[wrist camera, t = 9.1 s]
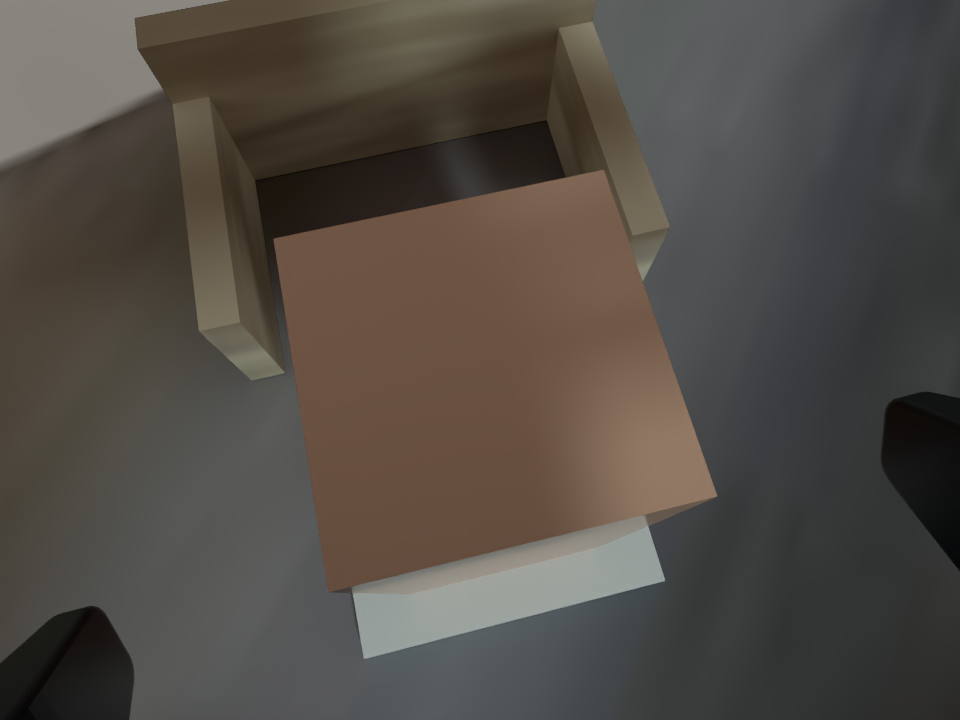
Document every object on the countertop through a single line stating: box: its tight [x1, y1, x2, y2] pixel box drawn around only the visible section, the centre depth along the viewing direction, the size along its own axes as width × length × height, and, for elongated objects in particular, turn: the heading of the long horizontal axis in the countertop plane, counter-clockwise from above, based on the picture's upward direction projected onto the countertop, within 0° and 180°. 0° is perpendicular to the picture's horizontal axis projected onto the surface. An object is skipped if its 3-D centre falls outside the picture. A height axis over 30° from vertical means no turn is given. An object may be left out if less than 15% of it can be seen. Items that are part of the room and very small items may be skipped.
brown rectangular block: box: [273, 170, 717, 594], centre depth 14 cm, size 5×5×10 cm
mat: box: [353, 526, 665, 659], centre depth 19 cm, size 8×8×1 cm
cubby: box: [135, 0, 670, 381], centre depth 19 cm, size 8×12×6 cm, turn 104°
